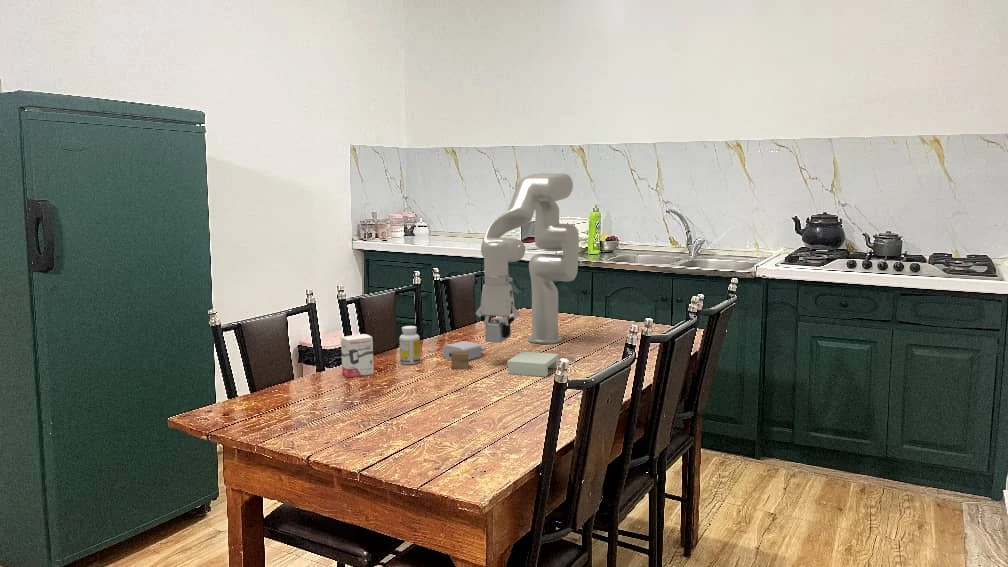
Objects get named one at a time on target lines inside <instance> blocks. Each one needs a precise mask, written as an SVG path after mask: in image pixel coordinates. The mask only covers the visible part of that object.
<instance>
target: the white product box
mask: <svg viewBox="0 0 1008 567" xmlns="http://www.w3.org/2000/svg"><path fill="white" fill-rule="evenodd" d="M340 345H341V347H340V349H341V350H340V352H341V368H342V369H341V371H342V373H341V374H342V376H344V377H346V378H348V379H349V378H355V377H360V376H361V377H362V375H363V376H367V375H368V376H369V375H374V374H375V372H374V349H373V348H374V341H373V336H371V335H369V334H367V333H362V334H354V335H346V336H342V337H340Z"/></svg>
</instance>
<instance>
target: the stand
mask: <svg viewBox="0 0 1008 567" xmlns="http://www.w3.org/2000/svg"><path fill="white" fill-rule="evenodd" d="M559 354H560V353H551V352H535V351H524V350H523V351H521V352H520V353H518V354H516V355H515V356H513V357H512V358H510V359H508V360H507V362H506V363H507V364H506V365H507V374H509V375H522V376H532V377H542V378H543V377H545V378H546V377H547V376H548V375H549V374H548V372H549V370H548V369H549V368H550V369H557V364H558V365H559V358H560V357H559Z"/></svg>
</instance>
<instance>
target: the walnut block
mask: <svg viewBox="0 0 1008 567" xmlns="http://www.w3.org/2000/svg"><path fill="white" fill-rule="evenodd" d="M450 361H451V363H450V364H451V370H452V371H454V370H455V371H456V370H468V369H469V360H468V350H457V351H452V353H451V360H450Z"/></svg>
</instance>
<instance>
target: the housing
mask: <svg viewBox="0 0 1008 567" xmlns="http://www.w3.org/2000/svg"><path fill="white" fill-rule="evenodd" d="M504 326H505V322H504V319H503V317H496V318H495V319H491V321H490V322H489V323H487V325H485V326H484V328H485V331H484V334H485V342H486V343H494V344H495V343H496V344H501V343H503V342H504V341H506V340H508V339H509V338H510V337H511V336H512V335H511V333H512V332H511V327H510V335H509V336H508V337H507V338H504Z"/></svg>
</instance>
